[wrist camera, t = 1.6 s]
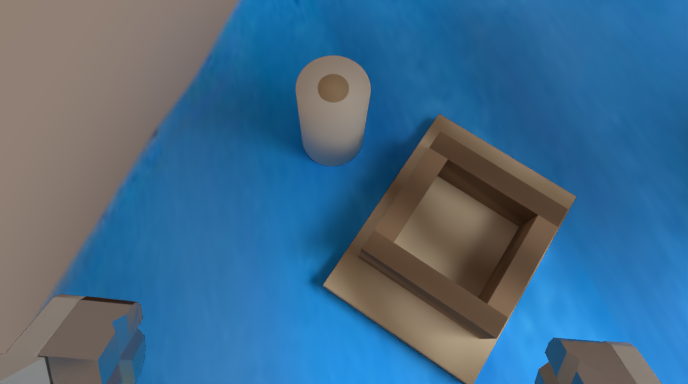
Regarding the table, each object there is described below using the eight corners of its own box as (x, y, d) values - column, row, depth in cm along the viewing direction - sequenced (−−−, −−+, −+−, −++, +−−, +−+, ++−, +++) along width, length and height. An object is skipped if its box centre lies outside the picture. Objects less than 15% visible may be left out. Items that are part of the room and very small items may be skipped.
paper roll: (324, 99, 41) (323, 42, 33) (374, 130, 40) (385, 79, 32) (290, 145, 39) (280, 96, 32) (340, 178, 39) (343, 136, 31)
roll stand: (435, 120, 40) (449, 92, 36) (569, 201, 39) (600, 182, 34) (323, 286, 36) (322, 278, 32) (466, 385, 34) (487, 391, 30)
